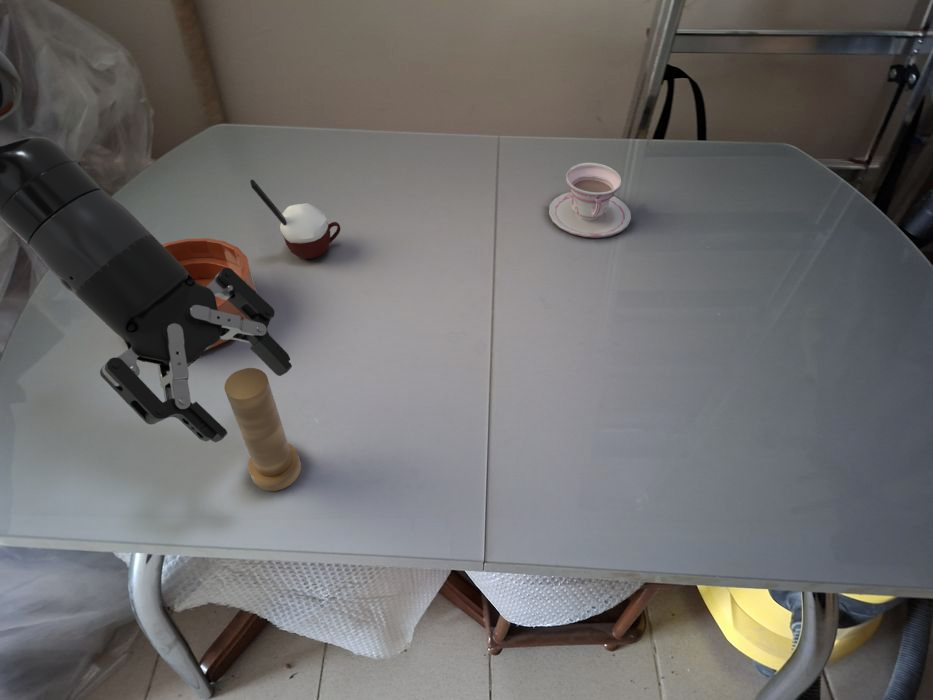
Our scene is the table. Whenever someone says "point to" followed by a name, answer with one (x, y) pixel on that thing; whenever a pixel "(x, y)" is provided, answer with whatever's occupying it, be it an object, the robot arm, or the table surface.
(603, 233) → the teacup
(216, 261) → the bowl
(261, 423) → the wooden flanged peg
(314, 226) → the cocoa
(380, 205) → the table surface
